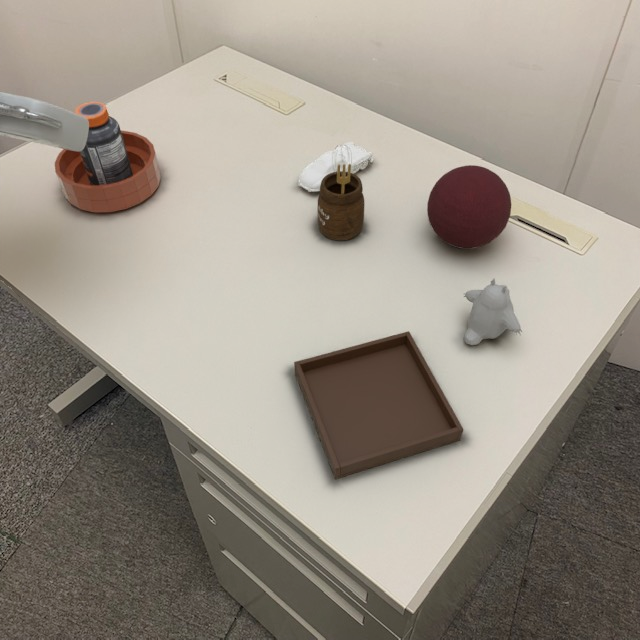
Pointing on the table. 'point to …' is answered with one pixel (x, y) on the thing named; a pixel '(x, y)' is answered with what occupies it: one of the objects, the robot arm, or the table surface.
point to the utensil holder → (341, 204)
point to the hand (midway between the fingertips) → (40, 131)
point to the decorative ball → (469, 206)
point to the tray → (375, 404)
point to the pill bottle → (103, 146)
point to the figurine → (490, 313)
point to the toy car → (333, 165)
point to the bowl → (116, 193)
